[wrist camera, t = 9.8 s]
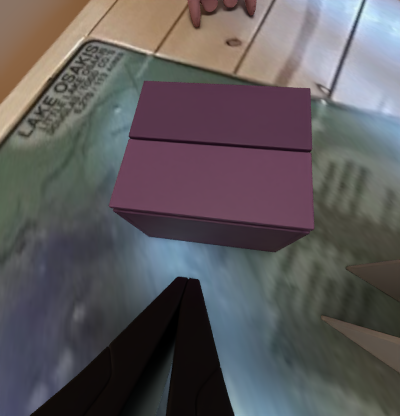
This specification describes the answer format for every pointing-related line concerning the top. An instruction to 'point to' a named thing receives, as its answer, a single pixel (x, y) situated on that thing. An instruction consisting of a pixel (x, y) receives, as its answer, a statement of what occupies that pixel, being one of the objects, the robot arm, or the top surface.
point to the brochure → (369, 339)
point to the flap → (217, 183)
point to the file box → (221, 136)
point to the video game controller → (210, 4)
